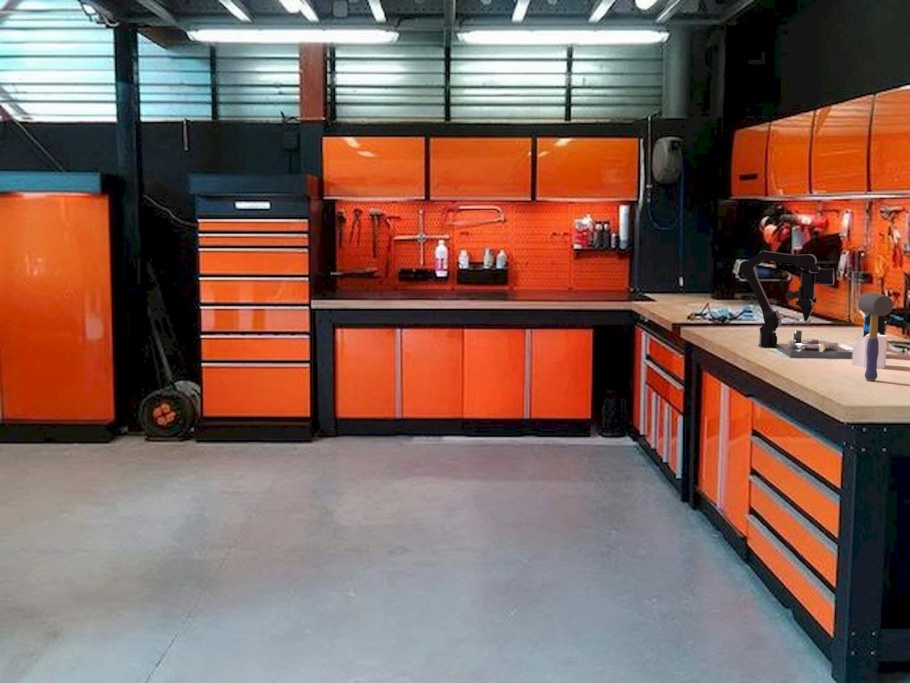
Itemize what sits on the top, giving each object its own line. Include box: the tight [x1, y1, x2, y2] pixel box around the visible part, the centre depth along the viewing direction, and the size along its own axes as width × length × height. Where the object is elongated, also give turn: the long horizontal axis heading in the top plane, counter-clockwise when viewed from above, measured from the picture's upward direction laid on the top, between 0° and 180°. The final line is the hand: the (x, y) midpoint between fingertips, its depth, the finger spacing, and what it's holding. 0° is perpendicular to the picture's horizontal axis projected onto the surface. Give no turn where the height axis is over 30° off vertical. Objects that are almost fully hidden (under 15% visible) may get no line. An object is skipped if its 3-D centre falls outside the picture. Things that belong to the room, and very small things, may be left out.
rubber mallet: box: [857, 292, 894, 382], centre depth 322 cm, size 12×8×30 cm, turn 2°
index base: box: [775, 343, 853, 359], centre depth 388 cm, size 24×24×6 cm
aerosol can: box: [862, 313, 887, 338], centre depth 381 cm, size 8×8×20 cm
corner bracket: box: [851, 333, 888, 370], centre depth 357 cm, size 11×11×12 cm
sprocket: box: [787, 329, 839, 350], centre depth 387 cm, size 20×20×7 cm
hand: (805, 321), depth 400 cm, fingers closed
